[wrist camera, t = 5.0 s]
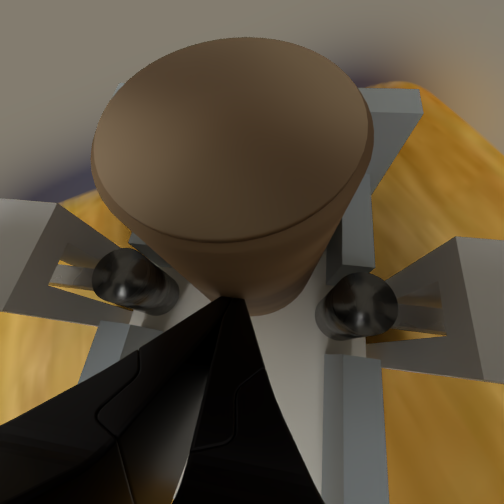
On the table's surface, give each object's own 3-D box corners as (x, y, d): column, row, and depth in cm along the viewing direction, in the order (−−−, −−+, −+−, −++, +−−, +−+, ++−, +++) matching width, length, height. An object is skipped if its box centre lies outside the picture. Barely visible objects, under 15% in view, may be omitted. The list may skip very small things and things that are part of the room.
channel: (419, 511, 11) (901, 1021, 3) (68, 439, 13) (-299, 596, 5) (392, 224, 16) (518, 91, 8) (149, 204, 18) (49, 81, 10)
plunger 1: (173, 318, 11) (136, 305, 8) (36, 299, 12) (-45, 281, 9) (183, 277, 12) (153, 250, 9) (53, 262, 13) (-16, 233, 10)
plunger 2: (496, 362, 10) (602, 365, 7) (314, 337, 11) (332, 330, 7) (484, 312, 11) (575, 294, 7) (315, 292, 11) (333, 269, 8)
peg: (288, 337, 11) (327, 306, 4) (171, 287, 13) (21, 187, 5) (328, 224, 13) (404, 55, 6) (223, 191, 15) (175, 18, 7)
